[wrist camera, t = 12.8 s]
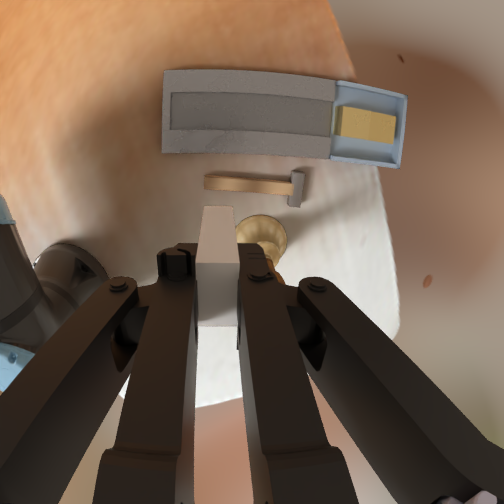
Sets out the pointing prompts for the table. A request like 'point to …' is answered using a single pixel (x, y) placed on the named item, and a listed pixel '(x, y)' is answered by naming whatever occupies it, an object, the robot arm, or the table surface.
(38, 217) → the table surface
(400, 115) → the tray
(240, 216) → the table surface
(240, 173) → the table surface
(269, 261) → the hand bell
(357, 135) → the yellow square block
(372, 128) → the chip
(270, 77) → the slot board
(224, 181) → the hammer
